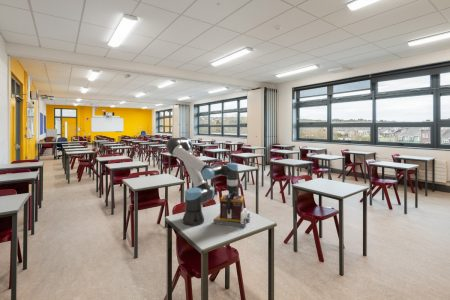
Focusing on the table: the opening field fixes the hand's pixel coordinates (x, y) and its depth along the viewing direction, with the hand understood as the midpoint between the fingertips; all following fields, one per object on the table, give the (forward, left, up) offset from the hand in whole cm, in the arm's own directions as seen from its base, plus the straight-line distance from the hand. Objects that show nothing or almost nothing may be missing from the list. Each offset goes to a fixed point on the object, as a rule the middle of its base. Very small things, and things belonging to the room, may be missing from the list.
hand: (232, 215), depth 173 cm
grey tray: (0, 0, -5) cm, 5 cm away
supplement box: (0, 0, -3) cm, 3 cm away
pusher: (+10, 0, -4) cm, 11 cm away
